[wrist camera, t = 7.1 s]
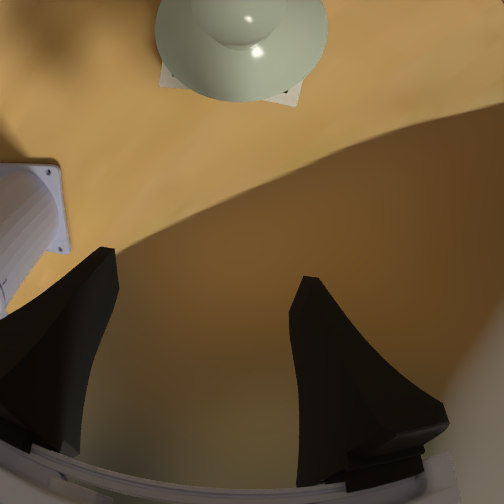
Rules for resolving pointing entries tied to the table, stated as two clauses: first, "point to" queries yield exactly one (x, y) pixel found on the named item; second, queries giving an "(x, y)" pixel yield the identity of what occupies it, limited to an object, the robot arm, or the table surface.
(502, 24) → the table surface
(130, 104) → the table surface
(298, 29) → the lid
